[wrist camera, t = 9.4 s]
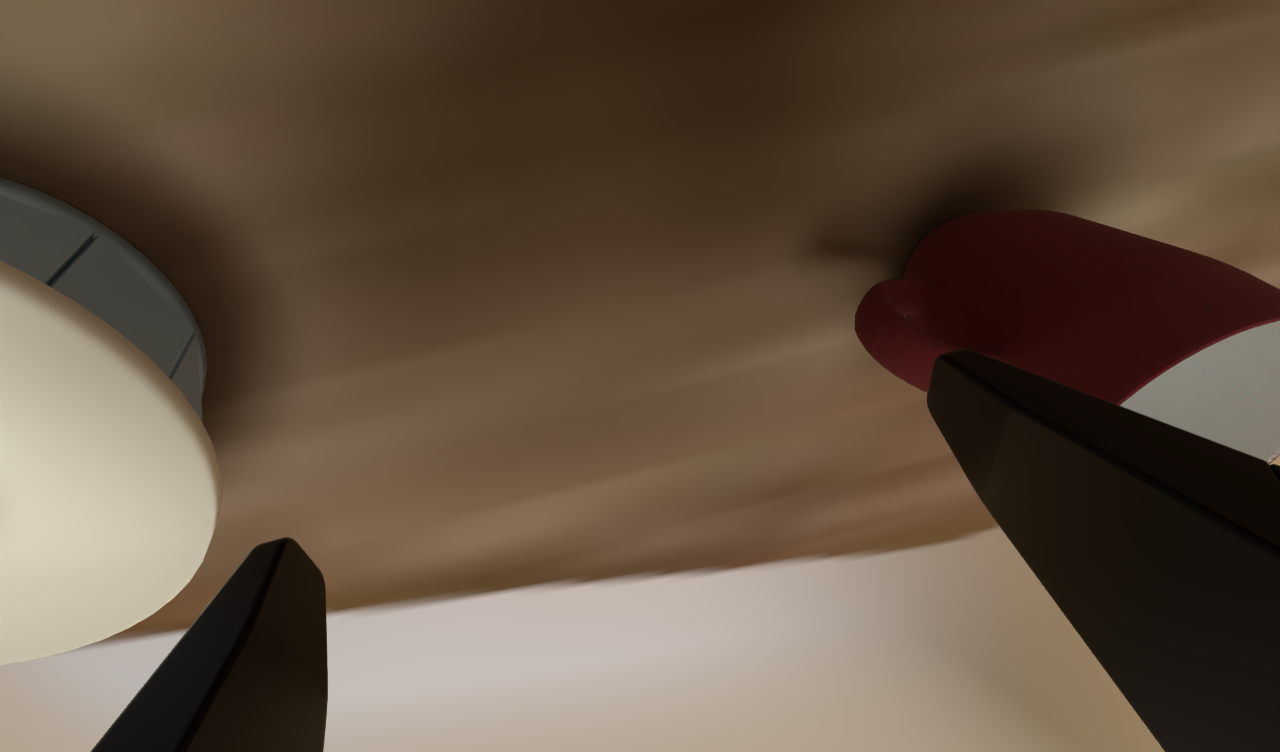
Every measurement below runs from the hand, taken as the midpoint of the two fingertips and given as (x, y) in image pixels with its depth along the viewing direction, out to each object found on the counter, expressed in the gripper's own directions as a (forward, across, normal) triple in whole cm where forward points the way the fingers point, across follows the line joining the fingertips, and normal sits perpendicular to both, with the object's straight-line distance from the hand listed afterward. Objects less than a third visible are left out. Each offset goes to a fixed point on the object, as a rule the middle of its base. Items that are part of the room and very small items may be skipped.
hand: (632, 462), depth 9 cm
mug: (+12, -13, +7) cm, 19 cm away
